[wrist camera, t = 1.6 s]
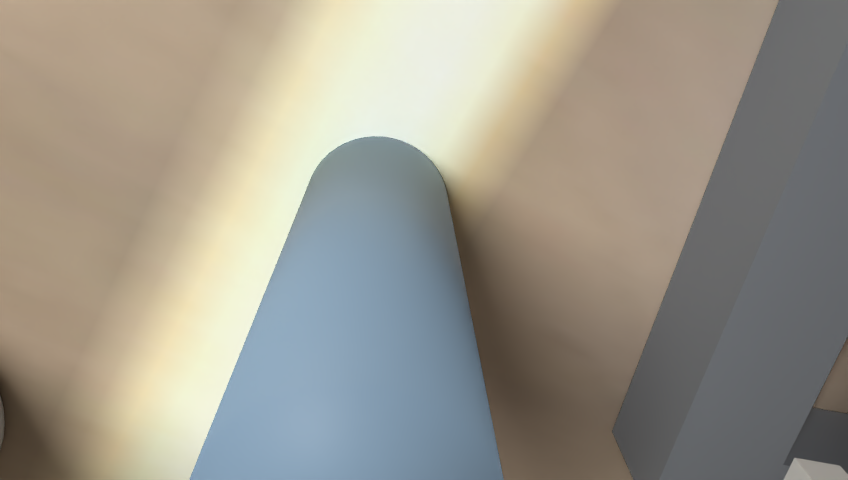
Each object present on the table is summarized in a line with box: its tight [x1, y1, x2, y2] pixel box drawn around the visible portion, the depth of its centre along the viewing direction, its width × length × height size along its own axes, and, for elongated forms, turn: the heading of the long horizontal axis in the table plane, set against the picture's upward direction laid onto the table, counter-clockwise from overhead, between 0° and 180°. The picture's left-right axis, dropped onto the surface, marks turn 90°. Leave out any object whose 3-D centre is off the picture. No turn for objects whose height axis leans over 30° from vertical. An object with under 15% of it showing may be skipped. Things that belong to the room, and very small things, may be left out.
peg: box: [190, 137, 504, 480], centre depth 14 cm, size 4×4×12 cm
